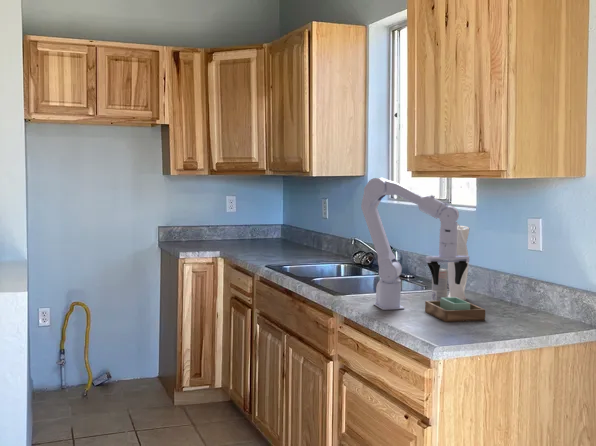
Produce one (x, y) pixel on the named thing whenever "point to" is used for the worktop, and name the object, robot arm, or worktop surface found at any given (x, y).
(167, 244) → the worktop surface
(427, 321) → the worktop surface
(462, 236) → the twisted white candle
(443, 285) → the energy drink
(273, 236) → the worktop surface
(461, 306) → the small crate
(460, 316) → the big crate
